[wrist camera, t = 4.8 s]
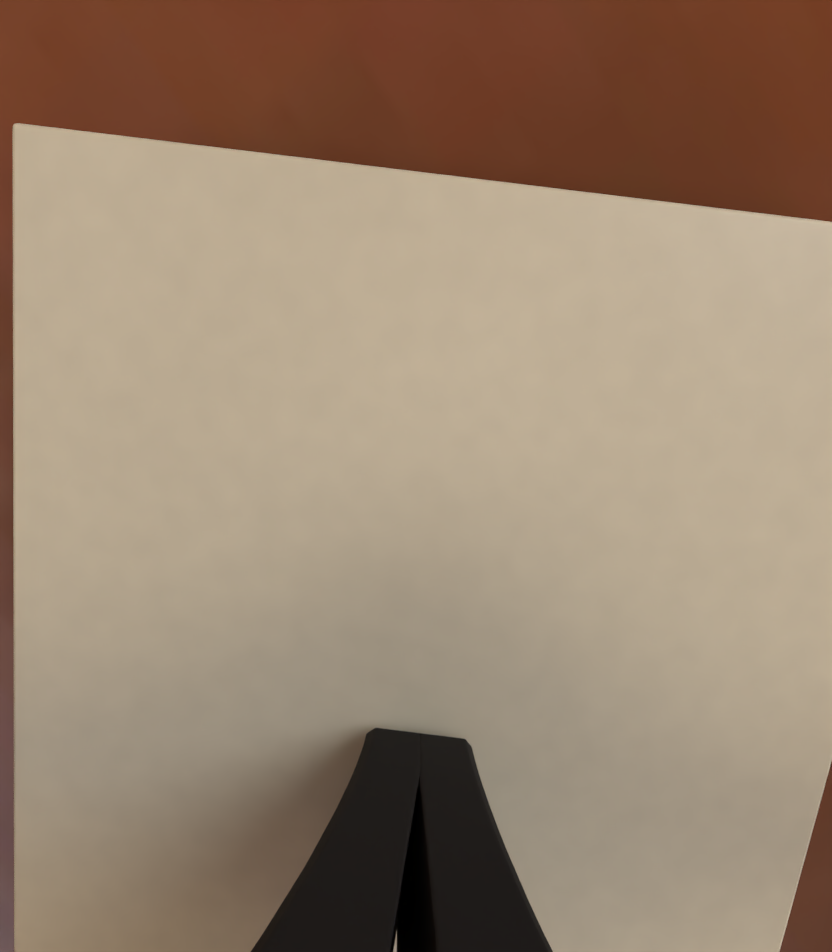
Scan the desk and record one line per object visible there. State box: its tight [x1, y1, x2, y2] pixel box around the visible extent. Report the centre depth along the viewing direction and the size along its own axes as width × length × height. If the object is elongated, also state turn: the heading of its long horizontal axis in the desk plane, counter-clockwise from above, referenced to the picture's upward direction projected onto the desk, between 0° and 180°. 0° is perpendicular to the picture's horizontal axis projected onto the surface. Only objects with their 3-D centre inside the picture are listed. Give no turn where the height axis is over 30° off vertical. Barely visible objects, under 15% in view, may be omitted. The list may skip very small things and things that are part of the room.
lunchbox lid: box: [13, 123, 832, 952], centre depth 9 cm, size 14×11×1 cm
